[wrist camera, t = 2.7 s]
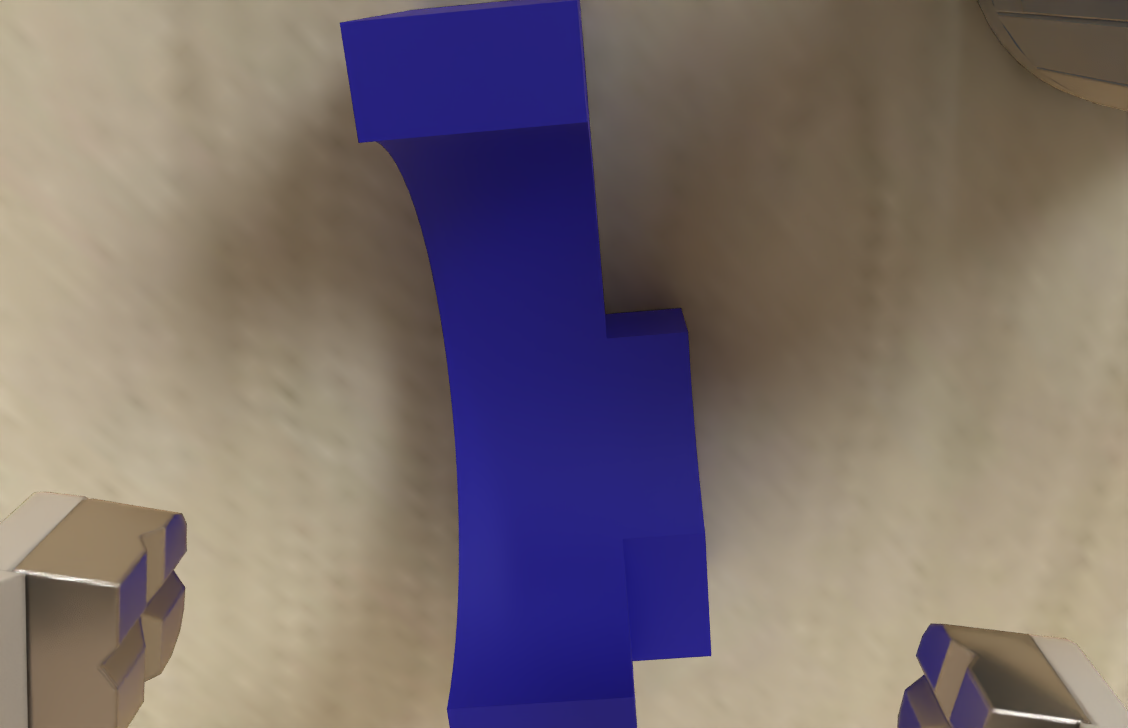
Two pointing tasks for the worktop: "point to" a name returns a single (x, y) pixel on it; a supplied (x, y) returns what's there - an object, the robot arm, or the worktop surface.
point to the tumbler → (1068, 44)
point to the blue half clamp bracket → (539, 370)
